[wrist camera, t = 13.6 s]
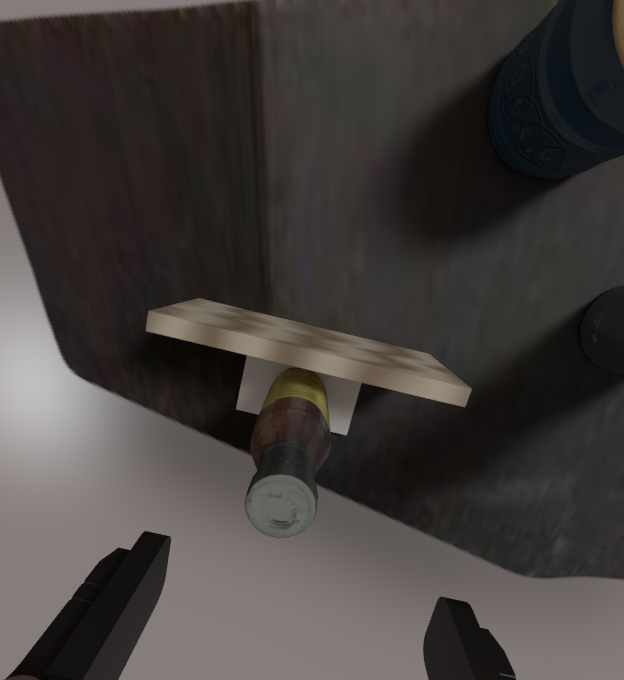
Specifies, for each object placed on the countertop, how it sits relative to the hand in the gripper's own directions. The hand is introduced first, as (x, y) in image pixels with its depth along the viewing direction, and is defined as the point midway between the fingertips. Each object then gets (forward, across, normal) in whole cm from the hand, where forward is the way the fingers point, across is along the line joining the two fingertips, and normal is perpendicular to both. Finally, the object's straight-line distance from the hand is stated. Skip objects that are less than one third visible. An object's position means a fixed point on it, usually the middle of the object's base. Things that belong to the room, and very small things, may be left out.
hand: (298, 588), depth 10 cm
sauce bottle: (+28, +1, +4) cm, 29 cm away
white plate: (+29, +1, +5) cm, 29 cm away
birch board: (+29, +1, -2) cm, 29 cm away
